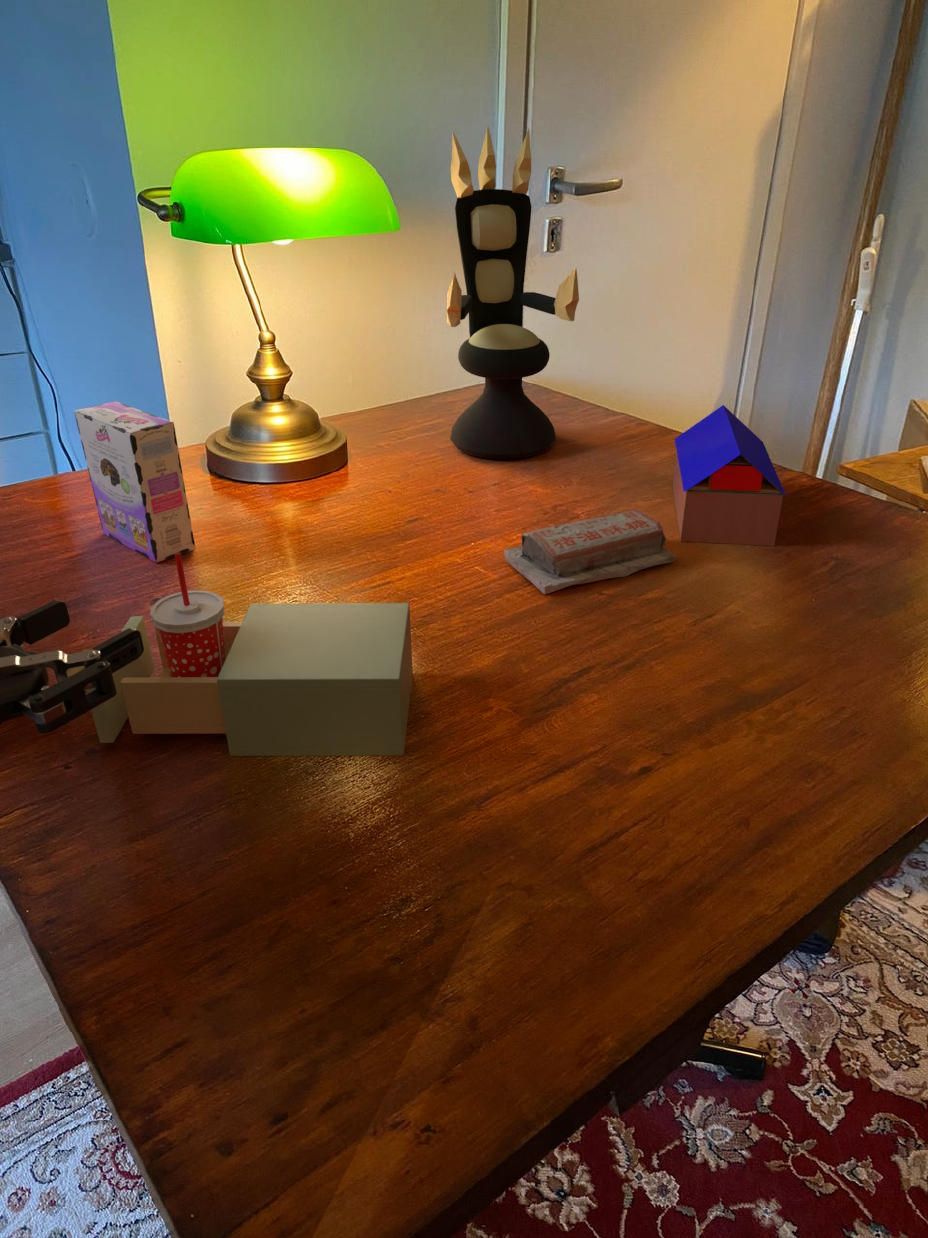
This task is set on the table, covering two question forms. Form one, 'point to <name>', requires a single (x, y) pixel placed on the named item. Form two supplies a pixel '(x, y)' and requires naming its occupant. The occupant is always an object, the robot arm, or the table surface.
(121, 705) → the drawer
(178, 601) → the beverage cup
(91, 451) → the candy box
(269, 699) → the cabinet
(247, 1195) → the table surface
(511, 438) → the spiked throne chair
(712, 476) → the house
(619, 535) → the packaged product
